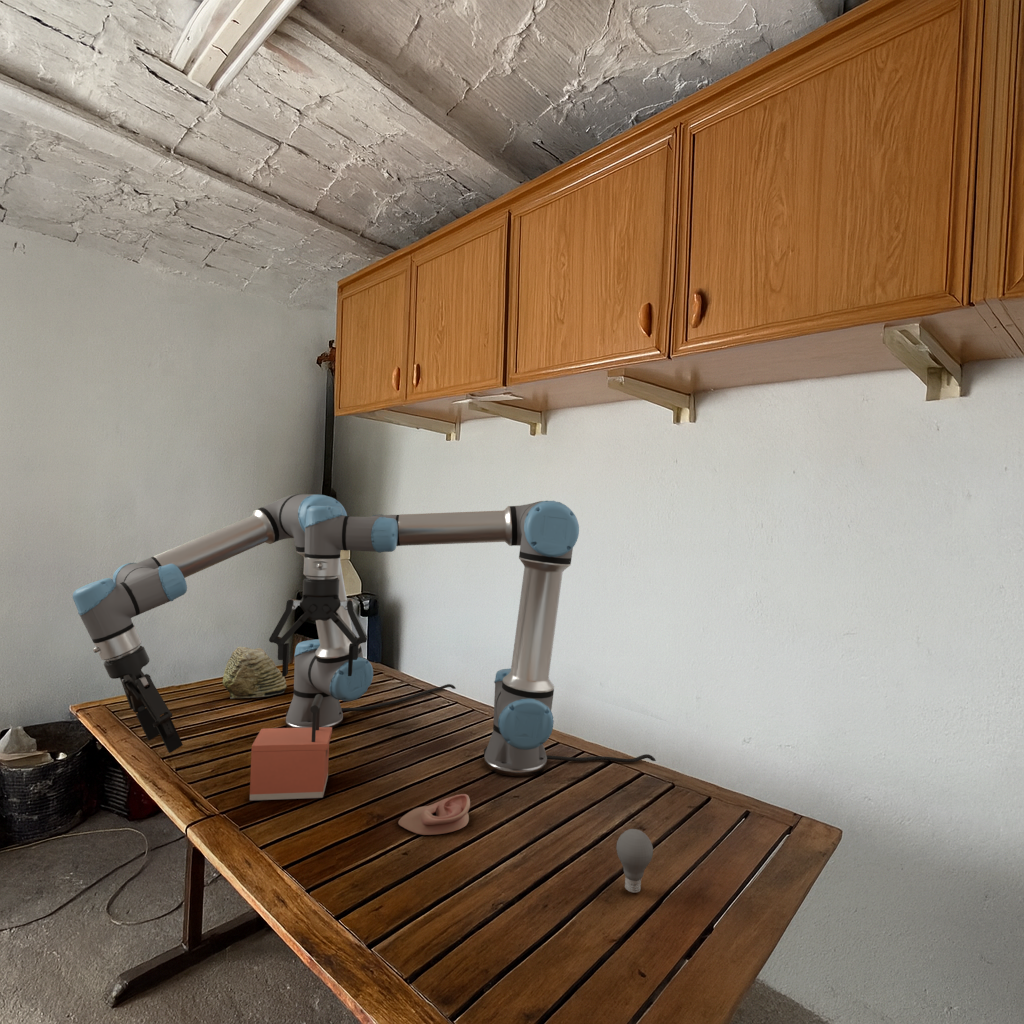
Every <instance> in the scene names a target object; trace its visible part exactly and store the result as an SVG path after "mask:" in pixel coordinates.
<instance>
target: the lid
mask: <svg viewBox="0 0 1024 1024" xmlns="http://www.w3.org/2000/svg"><path fill="white" fill-rule="evenodd" d="M322 699H323V696H322V695H321V694H317V695H316V696H315V698H314V701H313V703H312V706H311V708H310V711H311V712H312V713H313V719H312V728H288V727H270V728H269V727H267V728H261V729H260V730H259V733H258V734H257V735H256V738H255V739H254V741H253V743H252V745H251V752H257V751H296V750H327V749H328V745H329V746H330V742H331V738H332V734H333V729H332V727H319V722H320V705H321V702H322Z"/></svg>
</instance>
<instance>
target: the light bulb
mask: <svg viewBox="0 0 1024 1024" xmlns="http://www.w3.org/2000/svg"><path fill="white" fill-rule="evenodd" d="M615 849H616V854H617V857H618V859H619V861H620V863H621V865H622V867H623V873H624V874H623V875H624V876H625V878H624V888H625V890H627V891H628V892H630V893H634V894H635V893H639V892H640V891H641V889H642V887H641V886H642V879H643V877H644V875H645V871H646V868H647V867H648V866H649V864H650V863H651V861H652V859H653V855H654V847H653V843H652V841H651V838H649V836H648V835H647V834H646V833H645V832H643V831H642V830H641V829H636V828H629V829H627V830H625V831H623V832H622V833H621V834H620V835H619V837H618V839H617V841H616V847H615Z"/></svg>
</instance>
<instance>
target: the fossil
mask: <svg viewBox="0 0 1024 1024" xmlns="http://www.w3.org/2000/svg"><path fill="white" fill-rule="evenodd" d="M222 676H223V677H222V685H223V687H224V688H225V690H226V691H228V693H229V698H230V699H250V698H264V697H271V696H275V695H281V694H284V693H285V691H286V689H287V687H288V686H287V680H286V677H282V672H281V669H279V668H278V667H277V665H276V663H275V662H274V660H273V659H272V658H271V657H270V656H269V655H268V654H267V653H266V652H265V650H264V649H263V648H260V647H258V648H251V647H247V646H246V647H245V646H238V647H237V648H236V649H235V650H233V651H232V653H231V656H230V657H229V659H228V660H227V663H226V666H225V668H224V671H223V675H222Z"/></svg>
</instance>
